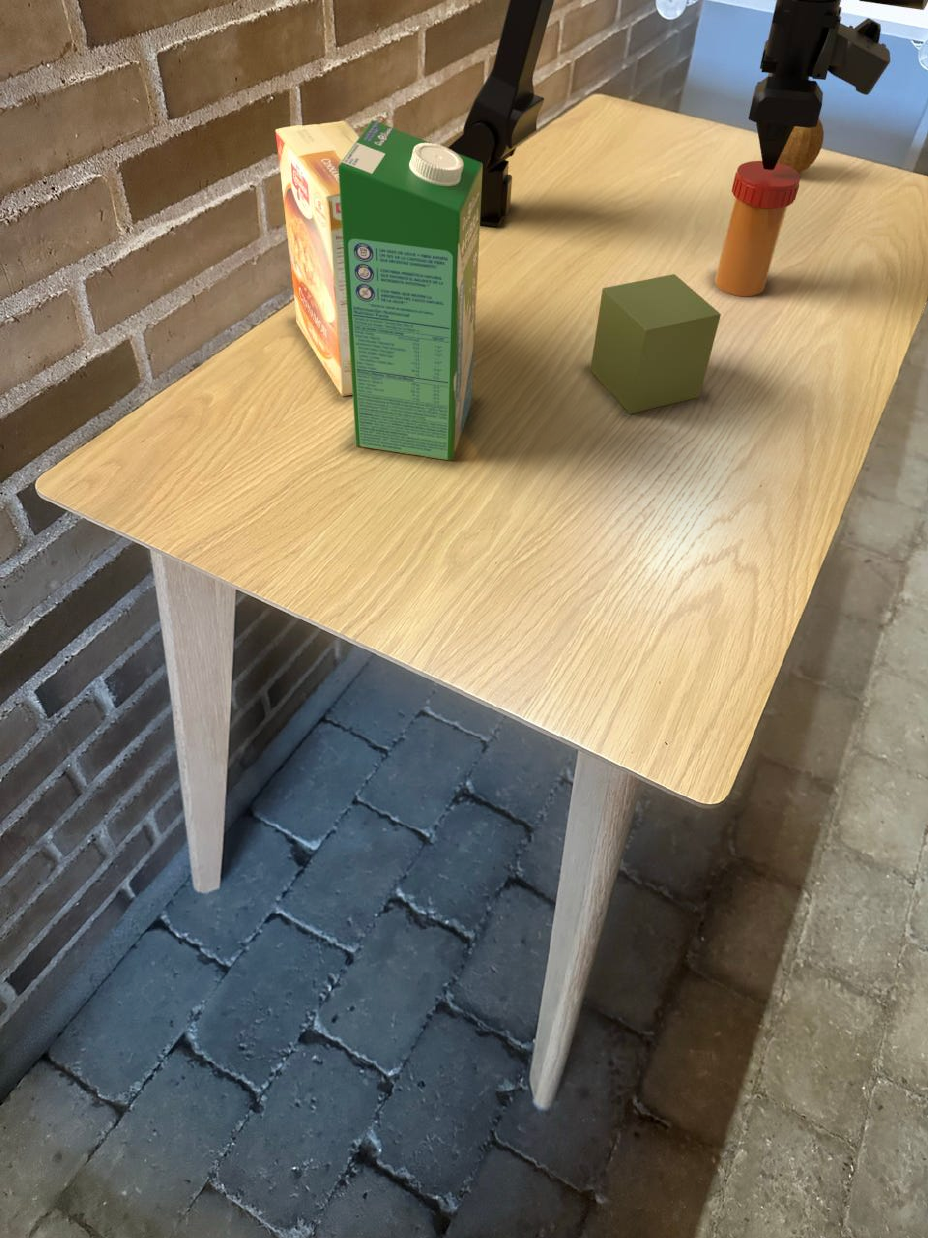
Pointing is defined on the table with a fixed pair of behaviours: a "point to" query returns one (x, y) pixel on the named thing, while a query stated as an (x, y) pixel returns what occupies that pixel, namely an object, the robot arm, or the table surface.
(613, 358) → the tea box
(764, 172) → the lid
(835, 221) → the table surface
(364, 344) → the milk carton
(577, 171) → the table surface
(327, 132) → the coffeecake box
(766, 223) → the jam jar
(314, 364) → the table surface
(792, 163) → the fruit
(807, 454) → the table surface
